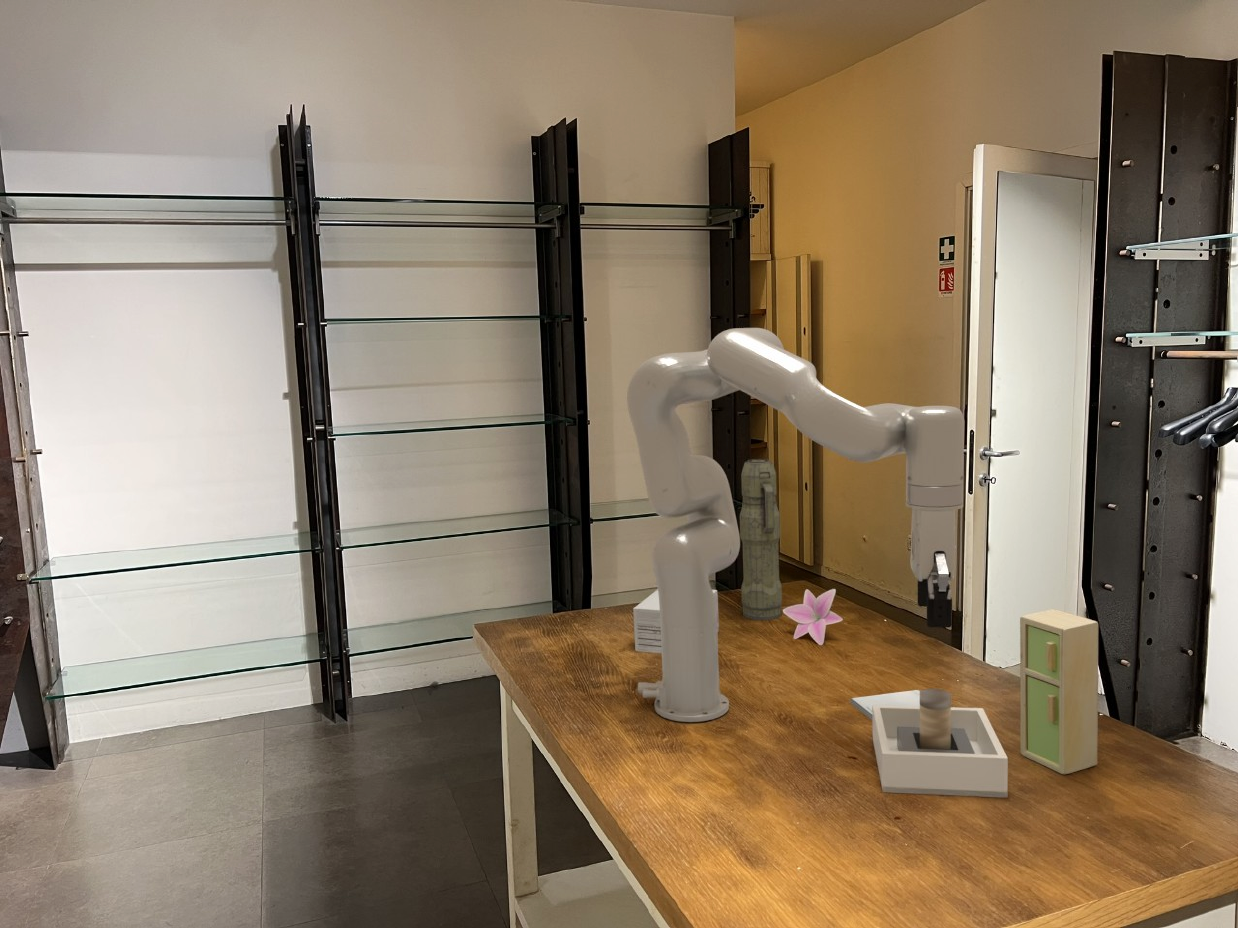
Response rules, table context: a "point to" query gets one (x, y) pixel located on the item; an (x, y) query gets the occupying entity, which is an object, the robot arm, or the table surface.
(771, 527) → the thermos
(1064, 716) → the toy refrigerator
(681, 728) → the table surface
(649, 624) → the supplement box
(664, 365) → the robot arm
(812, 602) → the lily
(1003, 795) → the walled box
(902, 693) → the hard drive
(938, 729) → the peg
